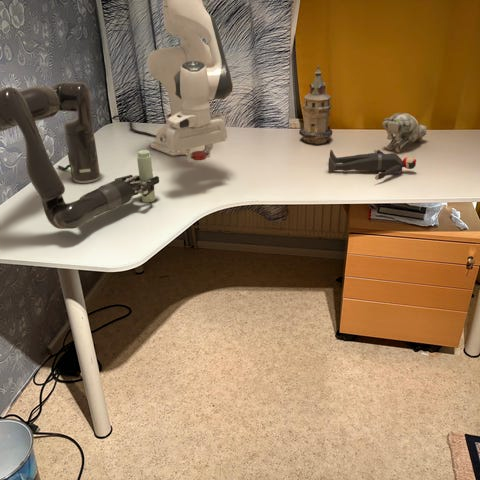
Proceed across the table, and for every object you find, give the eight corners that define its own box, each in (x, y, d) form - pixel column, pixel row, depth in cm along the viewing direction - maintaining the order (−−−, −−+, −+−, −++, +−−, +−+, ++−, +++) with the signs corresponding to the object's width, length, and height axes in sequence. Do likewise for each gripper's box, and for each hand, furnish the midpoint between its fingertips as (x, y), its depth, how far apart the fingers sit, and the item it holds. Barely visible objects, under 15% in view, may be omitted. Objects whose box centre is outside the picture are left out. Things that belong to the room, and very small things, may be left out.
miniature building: (320, 132, 228) (325, 59, 214) (338, 142, 217) (344, 66, 203) (293, 137, 224) (296, 63, 209) (310, 147, 213) (314, 69, 198)
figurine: (412, 164, 205) (438, 136, 214) (399, 121, 196) (426, 94, 205) (390, 163, 212) (416, 137, 221) (377, 122, 203) (404, 96, 212)
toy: (331, 141, 202) (414, 142, 196) (330, 157, 205) (412, 158, 199) (326, 167, 180) (420, 168, 174) (326, 184, 183) (418, 186, 177)
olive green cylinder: (142, 203, 170) (137, 154, 162) (141, 197, 174) (135, 150, 166) (156, 201, 171) (151, 153, 163) (154, 196, 175) (149, 148, 167)
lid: (204, 154, 176) (203, 150, 175) (208, 159, 172) (207, 154, 171) (190, 156, 175) (189, 152, 174) (193, 161, 171) (193, 156, 170)
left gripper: (126, 189, 154) (168, 171, 166) (94, 178, 161) (135, 161, 173) (129, 213, 157) (170, 193, 169) (97, 201, 165) (138, 183, 177)
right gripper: (220, 109, 174) (221, 150, 181) (162, 119, 165) (166, 162, 171) (230, 113, 169) (231, 155, 176) (171, 124, 160) (175, 168, 166)
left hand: (152, 177), depth 171 cm, fingers closed on olive green cylinder, 4 cm apart
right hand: (198, 158), depth 173 cm, fingers closed on lid, 5 cm apart
